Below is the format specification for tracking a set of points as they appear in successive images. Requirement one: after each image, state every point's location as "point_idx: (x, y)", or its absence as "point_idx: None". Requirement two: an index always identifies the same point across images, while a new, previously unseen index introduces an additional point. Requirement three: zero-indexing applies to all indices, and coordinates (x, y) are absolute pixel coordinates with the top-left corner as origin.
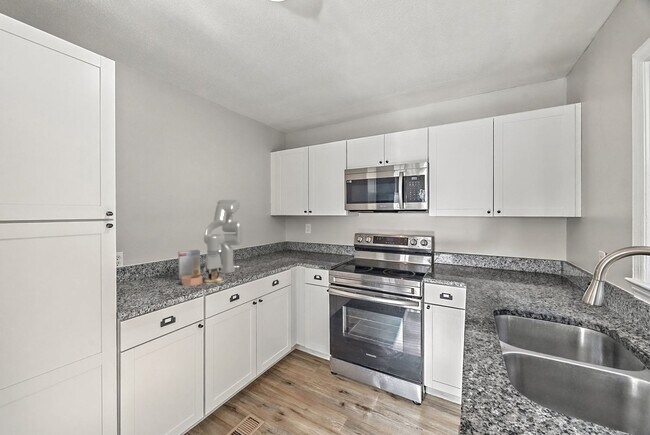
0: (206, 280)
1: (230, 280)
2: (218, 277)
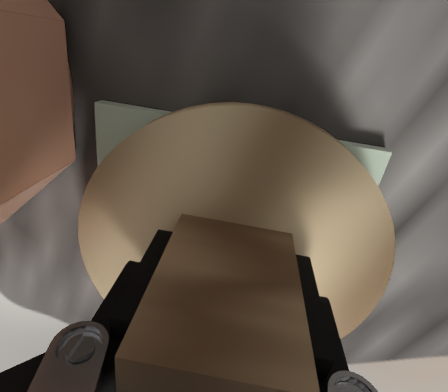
0: (99, 258)
1: (428, 329)
2: (340, 255)
